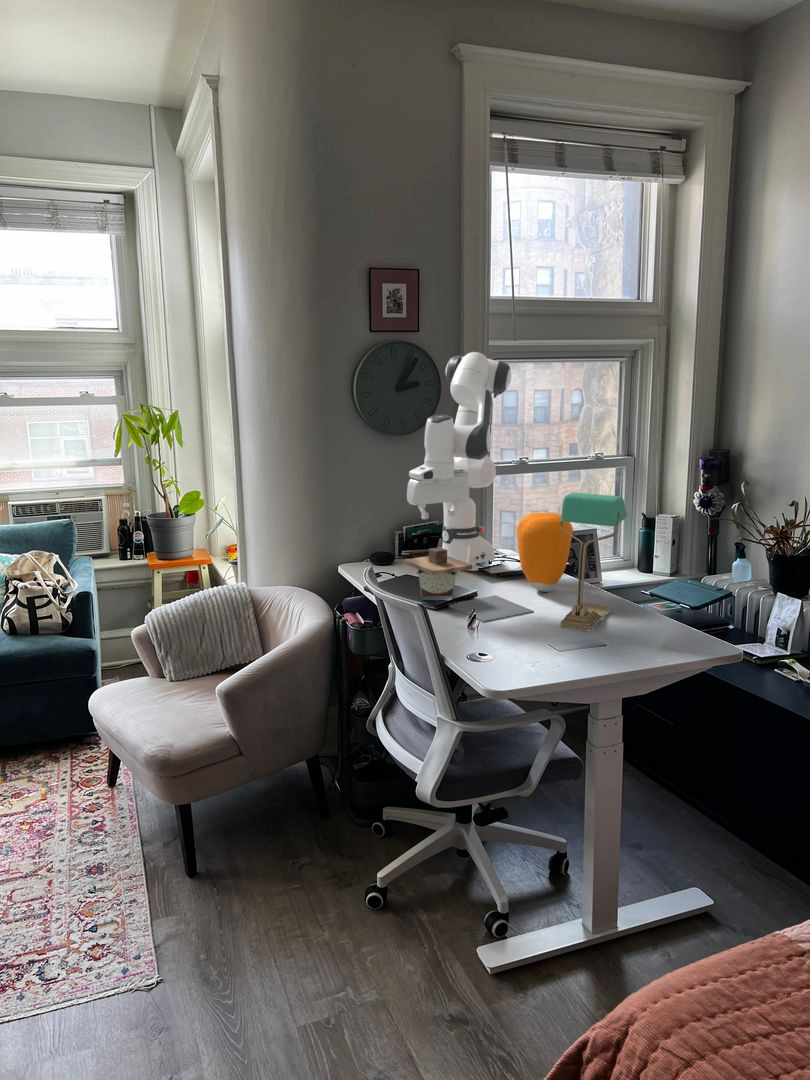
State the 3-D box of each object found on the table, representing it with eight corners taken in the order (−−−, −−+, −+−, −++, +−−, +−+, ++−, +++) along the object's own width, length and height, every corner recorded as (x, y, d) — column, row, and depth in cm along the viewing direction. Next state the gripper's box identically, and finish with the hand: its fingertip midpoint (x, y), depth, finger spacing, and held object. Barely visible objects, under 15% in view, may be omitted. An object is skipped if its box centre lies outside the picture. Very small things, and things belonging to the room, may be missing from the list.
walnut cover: (442, 557, 256) (442, 541, 255) (472, 568, 242) (472, 551, 241) (404, 563, 249) (404, 546, 247) (432, 575, 235) (433, 557, 234)
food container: (458, 595, 250) (458, 564, 248) (457, 601, 244) (458, 569, 242) (418, 594, 251) (418, 562, 249) (416, 600, 245) (416, 568, 243)
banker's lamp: (547, 624, 223) (553, 499, 215) (569, 604, 241) (575, 487, 233) (604, 633, 216) (612, 504, 208) (623, 612, 234) (631, 492, 226)
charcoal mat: (495, 596, 249) (495, 595, 249) (533, 612, 234) (533, 610, 234) (446, 605, 240) (446, 604, 240) (483, 622, 225) (483, 621, 225)
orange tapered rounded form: (505, 586, 260) (507, 509, 254) (551, 581, 266) (555, 506, 260) (532, 601, 244) (535, 520, 238) (580, 596, 250) (585, 516, 244)
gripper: (462, 467, 247) (461, 512, 250) (404, 472, 237) (403, 518, 240) (474, 470, 242) (473, 515, 245) (415, 474, 231) (415, 522, 234)
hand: (438, 517), depth 242 cm, fingers open, 8 cm apart
